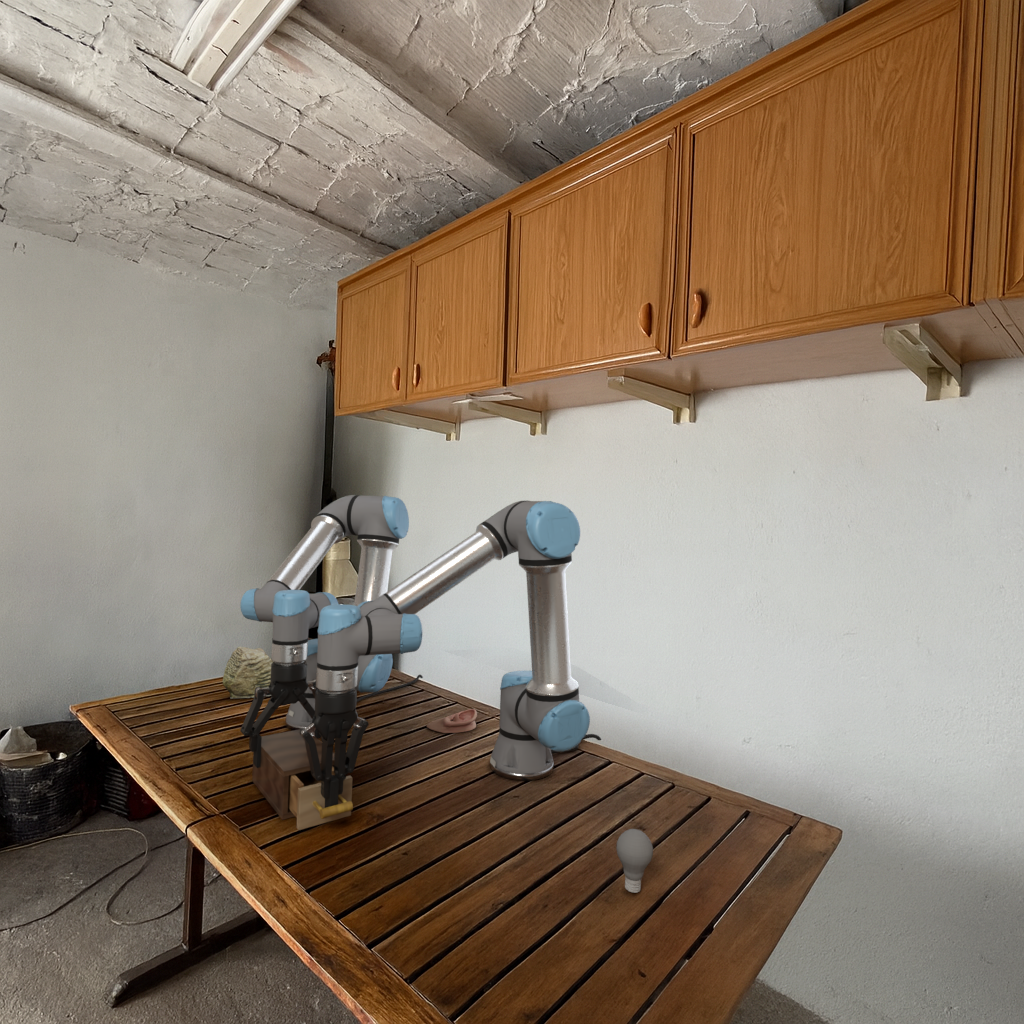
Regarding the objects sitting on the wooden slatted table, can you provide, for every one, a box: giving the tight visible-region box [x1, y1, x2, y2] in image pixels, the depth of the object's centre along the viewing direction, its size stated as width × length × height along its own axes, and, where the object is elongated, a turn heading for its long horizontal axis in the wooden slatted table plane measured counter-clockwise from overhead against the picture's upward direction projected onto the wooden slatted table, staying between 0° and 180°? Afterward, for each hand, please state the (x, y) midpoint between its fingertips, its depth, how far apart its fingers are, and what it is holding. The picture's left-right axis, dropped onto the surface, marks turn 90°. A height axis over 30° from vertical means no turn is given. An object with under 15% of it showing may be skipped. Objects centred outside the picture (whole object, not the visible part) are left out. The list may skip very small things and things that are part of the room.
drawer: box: [288, 766, 354, 831], centre depth 127 cm, size 24×10×8 cm, turn 38°
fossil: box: [222, 646, 274, 699], centre depth 198 cm, size 9×18×15 cm, turn 132°
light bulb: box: [615, 828, 654, 894], centre depth 106 cm, size 6×6×10 cm
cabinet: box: [251, 728, 335, 821], centre depth 135 cm, size 20×12×10 cm, turn 38°
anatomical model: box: [426, 708, 478, 734], centre depth 178 cm, size 13×4×12 cm
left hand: (285, 759), depth 140 cm, fingers closed on cabinet, 12 cm apart
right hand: (331, 812), depth 119 cm, fingers closed
